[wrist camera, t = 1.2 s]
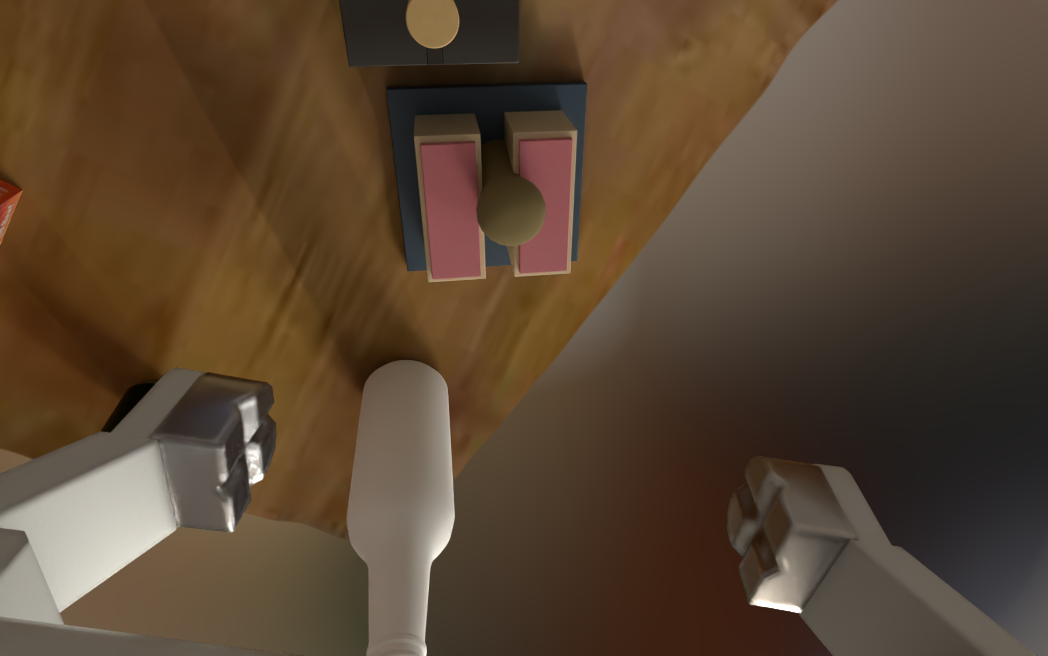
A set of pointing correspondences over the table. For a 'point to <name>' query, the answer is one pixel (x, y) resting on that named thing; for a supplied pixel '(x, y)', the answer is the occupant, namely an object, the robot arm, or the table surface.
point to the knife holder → (384, 40)
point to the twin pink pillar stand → (456, 172)
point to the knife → (432, 21)
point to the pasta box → (7, 205)
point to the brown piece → (507, 199)
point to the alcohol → (401, 499)
